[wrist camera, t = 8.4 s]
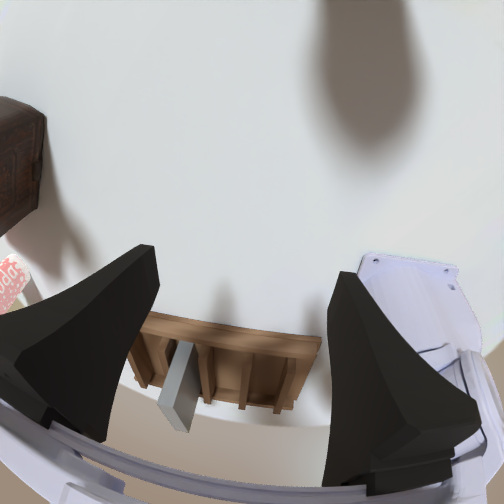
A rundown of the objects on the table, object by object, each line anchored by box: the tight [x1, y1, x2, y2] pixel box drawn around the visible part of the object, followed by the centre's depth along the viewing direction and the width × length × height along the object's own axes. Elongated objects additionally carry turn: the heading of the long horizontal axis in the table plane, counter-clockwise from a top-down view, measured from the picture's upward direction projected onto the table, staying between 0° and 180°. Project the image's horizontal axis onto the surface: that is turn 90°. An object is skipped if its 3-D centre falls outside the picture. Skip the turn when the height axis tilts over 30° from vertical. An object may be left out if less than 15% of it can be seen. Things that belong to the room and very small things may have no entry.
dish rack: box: [127, 311, 322, 414], centre depth 30 cm, size 22×13×4 cm, turn 86°
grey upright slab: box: [157, 340, 202, 433], centre depth 28 cm, size 2×7×8 cm, turn 1°
